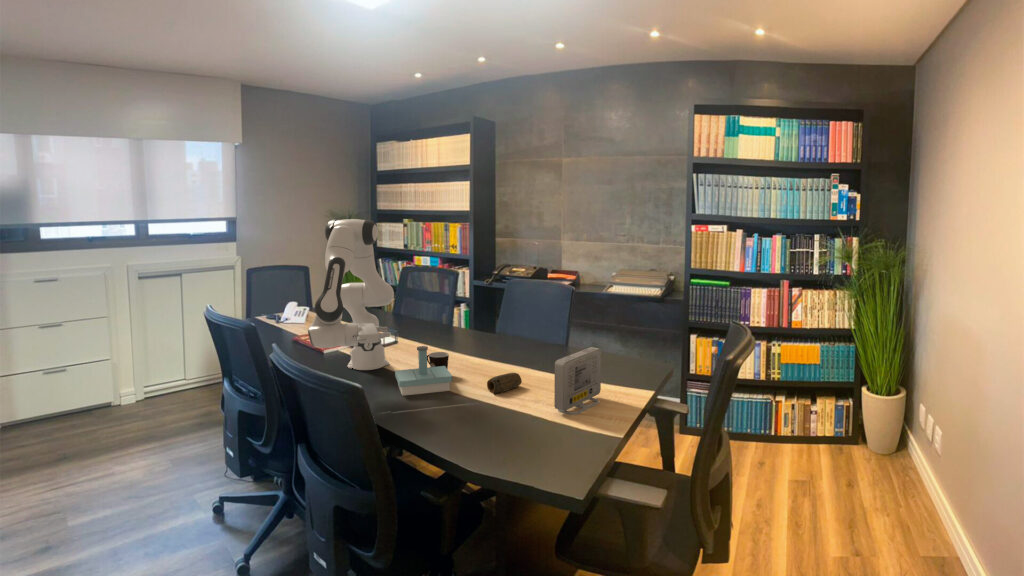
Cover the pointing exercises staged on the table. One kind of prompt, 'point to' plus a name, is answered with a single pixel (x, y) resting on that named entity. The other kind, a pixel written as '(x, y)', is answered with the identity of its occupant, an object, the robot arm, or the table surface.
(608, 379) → the table surface
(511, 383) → the hollow wooden cylinder
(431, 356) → the coffee mug
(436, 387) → the tub
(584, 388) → the network device
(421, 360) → the lid
